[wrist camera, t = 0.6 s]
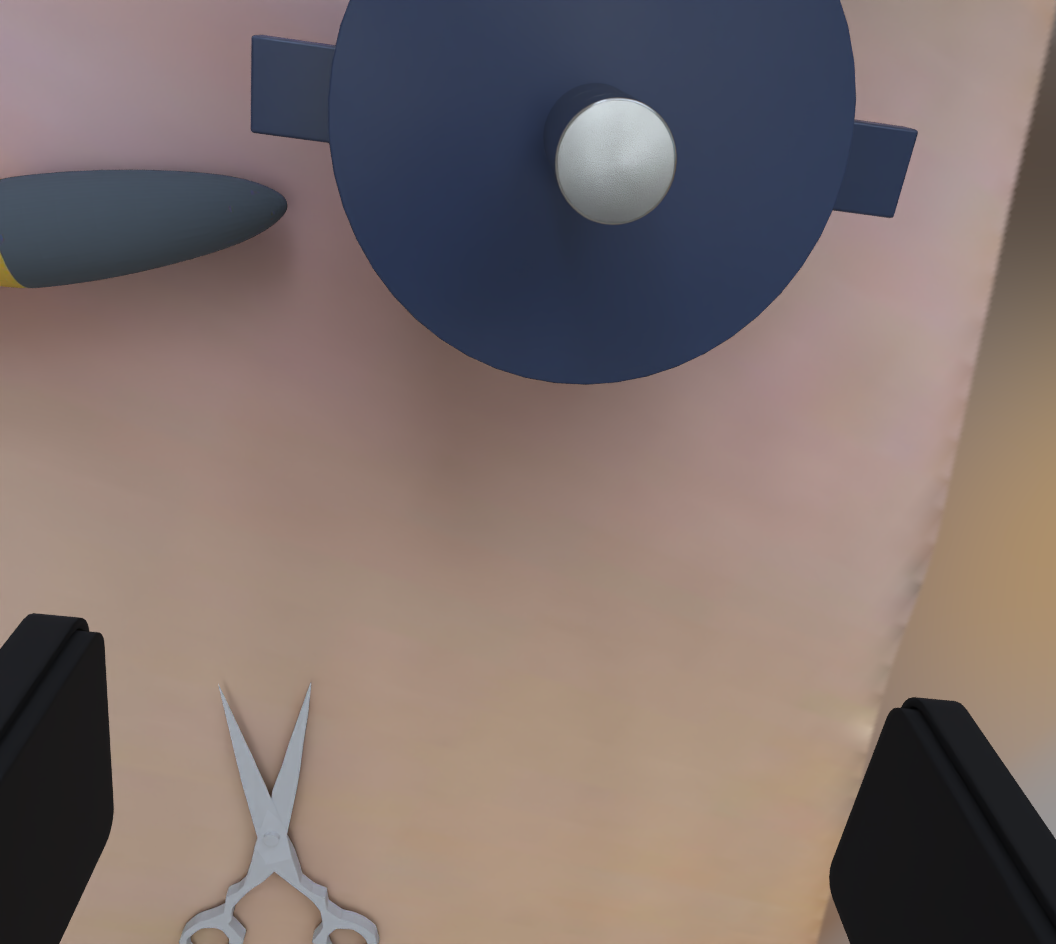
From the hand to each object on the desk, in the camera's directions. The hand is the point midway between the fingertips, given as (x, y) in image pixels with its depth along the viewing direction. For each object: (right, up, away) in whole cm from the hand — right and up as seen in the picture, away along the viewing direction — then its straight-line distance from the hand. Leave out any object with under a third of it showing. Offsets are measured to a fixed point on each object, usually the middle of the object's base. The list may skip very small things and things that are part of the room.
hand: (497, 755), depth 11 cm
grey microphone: (-18, +13, +22) cm, 31 cm away
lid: (+2, +12, +14) cm, 19 cm away
